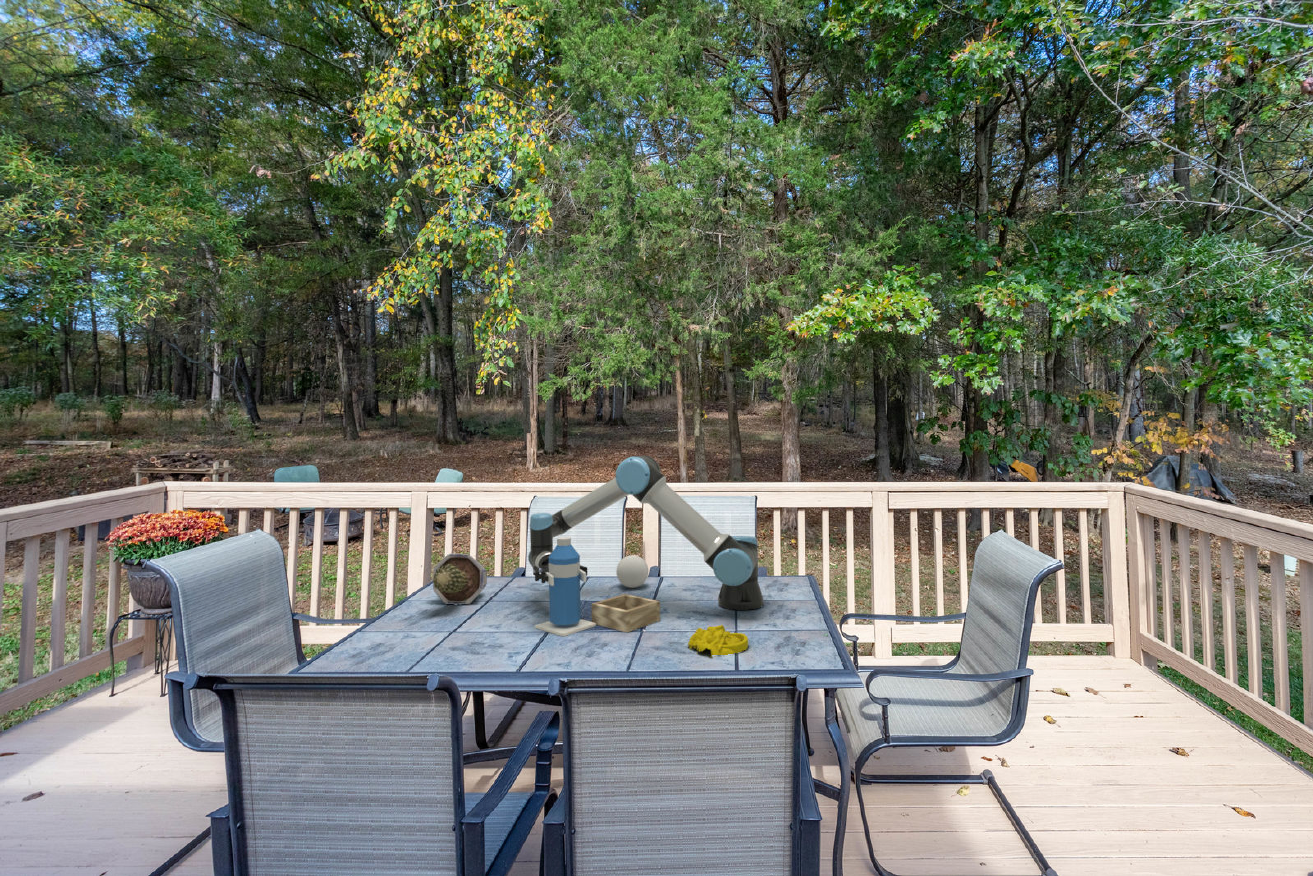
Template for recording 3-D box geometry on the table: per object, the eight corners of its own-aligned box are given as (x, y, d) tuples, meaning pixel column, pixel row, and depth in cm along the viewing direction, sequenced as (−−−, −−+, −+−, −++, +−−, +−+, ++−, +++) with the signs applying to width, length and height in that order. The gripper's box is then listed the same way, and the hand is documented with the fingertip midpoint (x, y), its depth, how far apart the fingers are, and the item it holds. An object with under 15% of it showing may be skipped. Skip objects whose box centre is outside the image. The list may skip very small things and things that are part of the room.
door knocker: (758, 651, 176) (758, 635, 176) (707, 661, 169) (706, 645, 169) (725, 634, 191) (725, 619, 191) (676, 642, 184) (676, 627, 184)
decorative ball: (648, 583, 252) (647, 552, 252) (648, 591, 240) (648, 558, 240) (617, 584, 252) (616, 553, 251) (616, 591, 240) (615, 559, 239)
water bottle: (567, 627, 192) (565, 542, 192) (543, 622, 197) (541, 539, 197) (587, 618, 200) (585, 537, 200) (563, 614, 205) (562, 534, 204)
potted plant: (446, 554, 241) (417, 549, 211) (495, 556, 241) (472, 551, 211) (441, 603, 237) (410, 605, 208) (490, 605, 237) (467, 608, 207)
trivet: (596, 625, 199) (595, 623, 199) (563, 636, 189) (563, 633, 189) (567, 618, 208) (567, 615, 208) (534, 628, 198) (534, 625, 198)
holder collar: (660, 620, 203) (659, 601, 203) (626, 632, 192) (626, 612, 192) (625, 612, 213) (624, 593, 213) (591, 623, 202) (591, 603, 202)
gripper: (581, 572, 219) (604, 587, 199) (516, 580, 210) (532, 596, 190) (581, 550, 219) (603, 563, 199) (515, 556, 210) (532, 570, 190)
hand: (568, 579), depth 194 cm, fingers closed on water bottle, 9 cm apart
